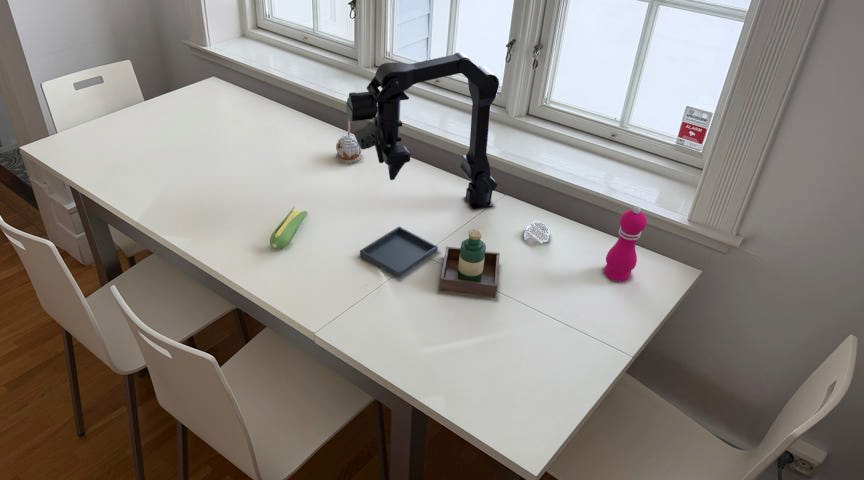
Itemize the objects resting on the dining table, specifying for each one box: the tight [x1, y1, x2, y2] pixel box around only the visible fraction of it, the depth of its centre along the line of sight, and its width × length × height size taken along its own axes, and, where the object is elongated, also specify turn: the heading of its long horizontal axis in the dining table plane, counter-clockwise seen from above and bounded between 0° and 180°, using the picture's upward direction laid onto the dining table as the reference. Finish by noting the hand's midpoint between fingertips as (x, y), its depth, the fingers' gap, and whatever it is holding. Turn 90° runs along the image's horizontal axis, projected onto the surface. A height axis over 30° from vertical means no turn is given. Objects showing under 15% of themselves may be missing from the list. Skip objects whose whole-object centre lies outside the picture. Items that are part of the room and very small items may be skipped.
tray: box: [359, 226, 439, 279], centre depth 170 cm, size 15×13×2 cm
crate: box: [438, 245, 501, 299], centre depth 162 cm, size 13×13×4 cm
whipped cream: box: [523, 220, 551, 244], centre depth 177 cm, size 8×7×5 cm
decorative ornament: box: [335, 118, 363, 164], centre depth 205 cm, size 8×8×15 cm
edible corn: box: [269, 205, 308, 250], centre depth 176 cm, size 5×20×5 cm, turn 164°
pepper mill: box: [603, 205, 648, 282], centre depth 161 cm, size 7×7×20 cm
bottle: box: [457, 229, 487, 282], centre depth 159 cm, size 6×6×13 cm
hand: (386, 171), depth 175 cm, fingers open, 9 cm apart
